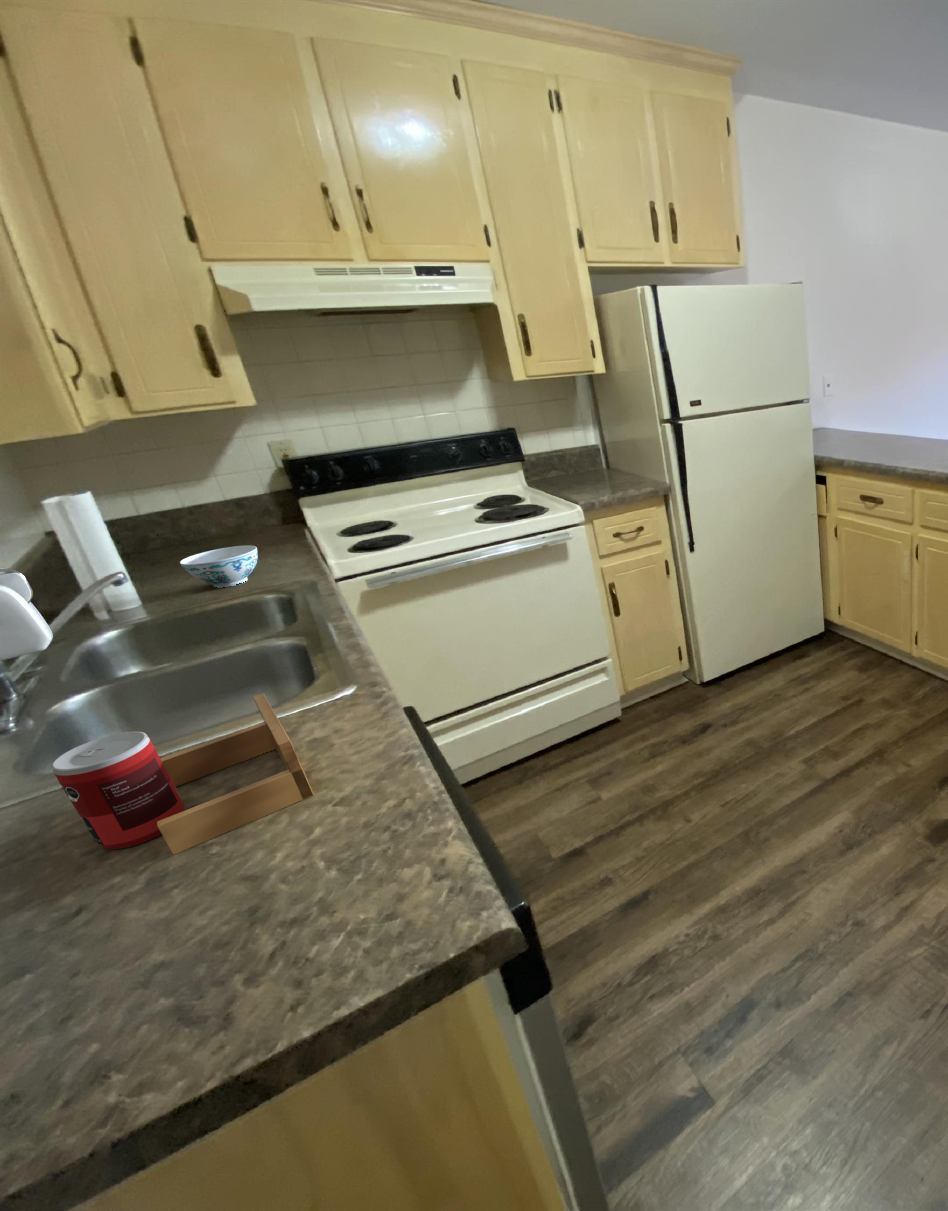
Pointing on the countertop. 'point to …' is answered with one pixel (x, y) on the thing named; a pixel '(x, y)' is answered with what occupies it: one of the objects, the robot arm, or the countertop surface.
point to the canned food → (118, 788)
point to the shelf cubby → (239, 803)
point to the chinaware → (222, 565)
